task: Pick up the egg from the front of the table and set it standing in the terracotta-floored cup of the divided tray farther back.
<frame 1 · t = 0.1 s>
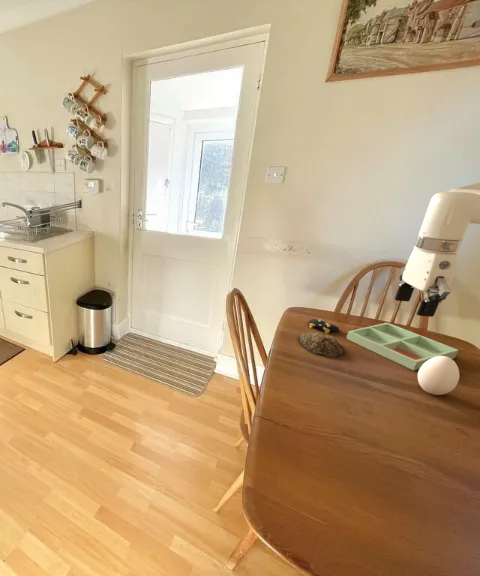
hand: (412, 307, 83), 25 cm above the table, tool pointing down, fingers open, 9 cm apart
brown rock: (320, 348, 110), on the table
egg: (430, 393, 88), on the table
divided tray: (396, 349, 108), on the table
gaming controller: (321, 329, 122), on the table
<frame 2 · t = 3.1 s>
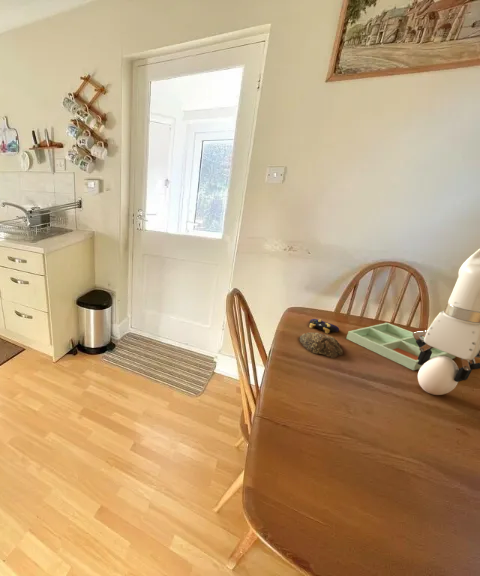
hand: (440, 371, 85), 7 cm above the table, tool pointing down, fingers closed on egg, 7 cm apart
egg: (430, 393, 88), on the table, touching gripper
everything else where it was.
when the fingers open (8 cm above the table, at t = 10.1 s): egg stays where it is, resting on divided tray.
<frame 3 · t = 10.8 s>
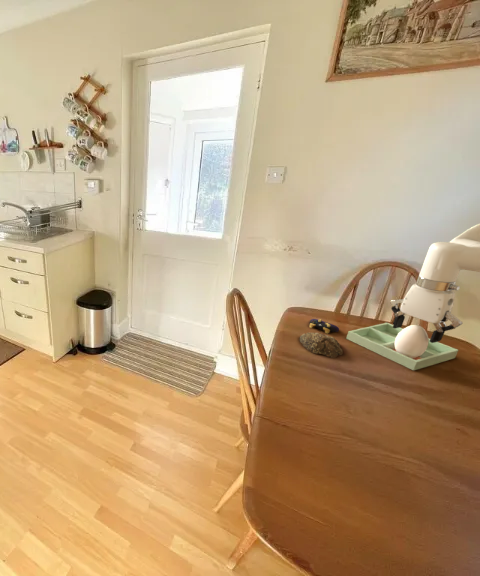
hand: (414, 334, 99), 9 cm above the table, tool pointing down, fingers open, 9 cm apart
egg: (405, 357, 102), point 1 cm above the table, touching divided tray
everything else where it was.
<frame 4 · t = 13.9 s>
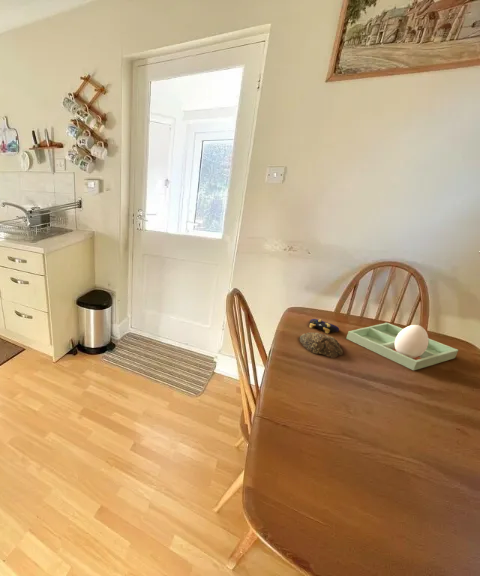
nothing on the table moved.
at the end: egg inside the target area in the divided tray (0.1 cm from its centre), point 0.6 cm above the divided tray's base; the gripper is holding nothing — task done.
